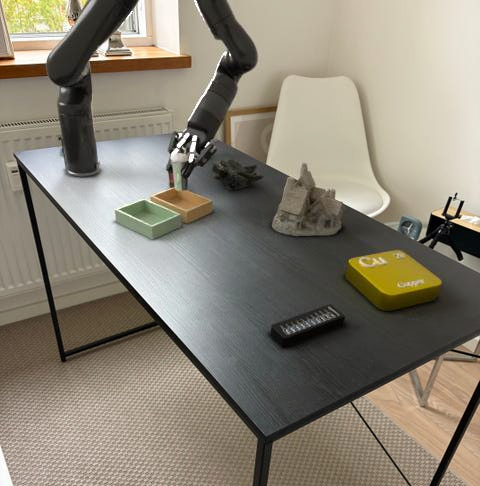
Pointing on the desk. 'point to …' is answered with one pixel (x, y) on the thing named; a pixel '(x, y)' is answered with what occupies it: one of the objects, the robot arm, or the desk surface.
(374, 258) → the element tile
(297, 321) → the multiport hub
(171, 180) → the tin
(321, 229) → the ceramic cottage
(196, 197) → the bin right
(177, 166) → the milkshake
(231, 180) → the mineral specimen
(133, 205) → the bin left
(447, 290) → the desk surface
